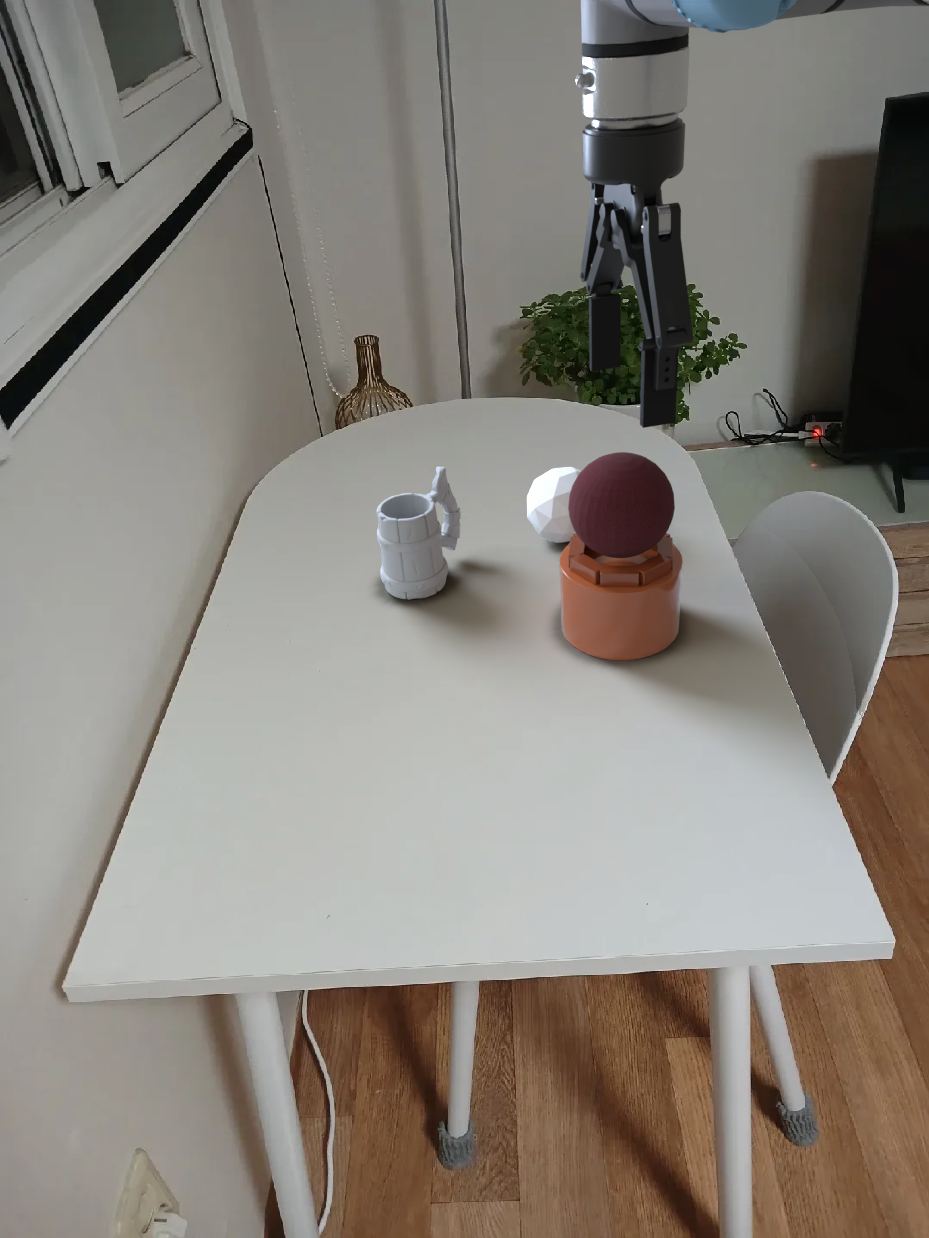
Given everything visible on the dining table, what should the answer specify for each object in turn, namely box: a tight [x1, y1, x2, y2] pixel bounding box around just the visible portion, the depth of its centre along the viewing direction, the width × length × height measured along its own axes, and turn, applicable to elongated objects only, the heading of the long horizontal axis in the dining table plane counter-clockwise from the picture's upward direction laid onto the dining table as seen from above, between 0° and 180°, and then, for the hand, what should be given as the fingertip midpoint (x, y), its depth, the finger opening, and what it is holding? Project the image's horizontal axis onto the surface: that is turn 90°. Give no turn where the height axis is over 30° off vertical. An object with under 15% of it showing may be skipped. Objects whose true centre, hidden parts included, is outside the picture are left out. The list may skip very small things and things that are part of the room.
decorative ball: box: [568, 451, 676, 558], centre depth 91 cm, size 10×10×10 cm
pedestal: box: [559, 532, 684, 661], centre depth 96 cm, size 12×12×10 cm
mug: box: [376, 465, 462, 600], centre depth 106 cm, size 8×12×12 cm, turn 140°
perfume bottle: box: [526, 466, 582, 544], centre depth 113 cm, size 9×9×12 cm
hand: (629, 394), depth 82 cm, fingers open, 13 cm apart
